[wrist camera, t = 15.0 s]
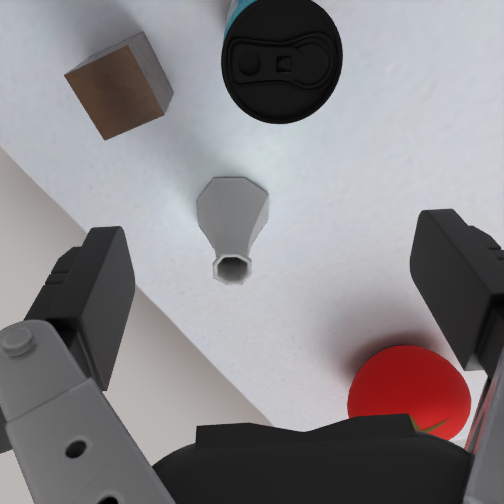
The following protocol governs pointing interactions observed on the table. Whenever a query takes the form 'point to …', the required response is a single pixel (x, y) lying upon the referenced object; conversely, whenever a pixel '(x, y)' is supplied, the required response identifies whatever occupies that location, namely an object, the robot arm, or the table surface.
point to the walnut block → (122, 86)
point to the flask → (232, 225)
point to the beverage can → (280, 58)
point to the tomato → (412, 390)
